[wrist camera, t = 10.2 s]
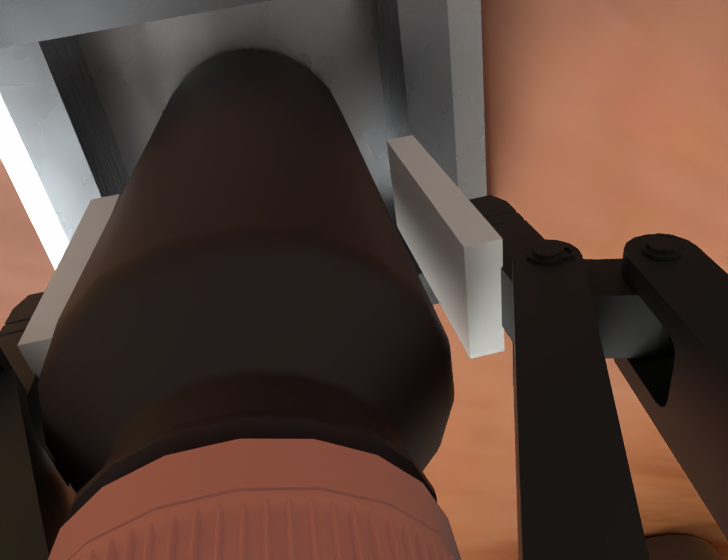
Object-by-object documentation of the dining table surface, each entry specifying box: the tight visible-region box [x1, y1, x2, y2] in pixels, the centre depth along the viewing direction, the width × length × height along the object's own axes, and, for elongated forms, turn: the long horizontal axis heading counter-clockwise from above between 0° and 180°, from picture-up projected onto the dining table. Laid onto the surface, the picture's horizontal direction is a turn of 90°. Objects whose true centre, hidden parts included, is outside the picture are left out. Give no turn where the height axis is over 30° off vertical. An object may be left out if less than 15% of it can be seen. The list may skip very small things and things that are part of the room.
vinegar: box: [37, 49, 461, 560], centre depth 14 cm, size 7×7×20 cm
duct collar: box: [0, 0, 487, 305], centre depth 21 cm, size 18×18×5 cm
